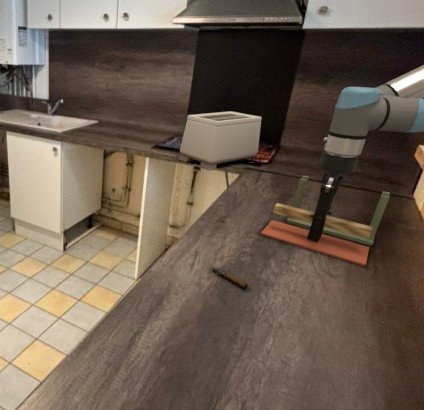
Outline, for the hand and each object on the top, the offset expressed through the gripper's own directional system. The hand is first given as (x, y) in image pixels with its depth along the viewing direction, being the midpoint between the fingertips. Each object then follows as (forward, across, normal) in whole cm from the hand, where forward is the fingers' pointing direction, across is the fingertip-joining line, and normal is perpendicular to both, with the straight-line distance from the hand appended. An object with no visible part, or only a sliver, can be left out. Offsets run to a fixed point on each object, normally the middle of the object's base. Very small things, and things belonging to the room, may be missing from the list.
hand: (313, 237), depth 97 cm
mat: (+1, 0, 0) cm, 1 cm away
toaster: (+1, -60, -49) cm, 77 cm away
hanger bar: (-4, 0, 0) cm, 4 cm away
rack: (+1, -12, +2) cm, 12 cm away
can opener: (+1, +33, -11) cm, 35 cm away
